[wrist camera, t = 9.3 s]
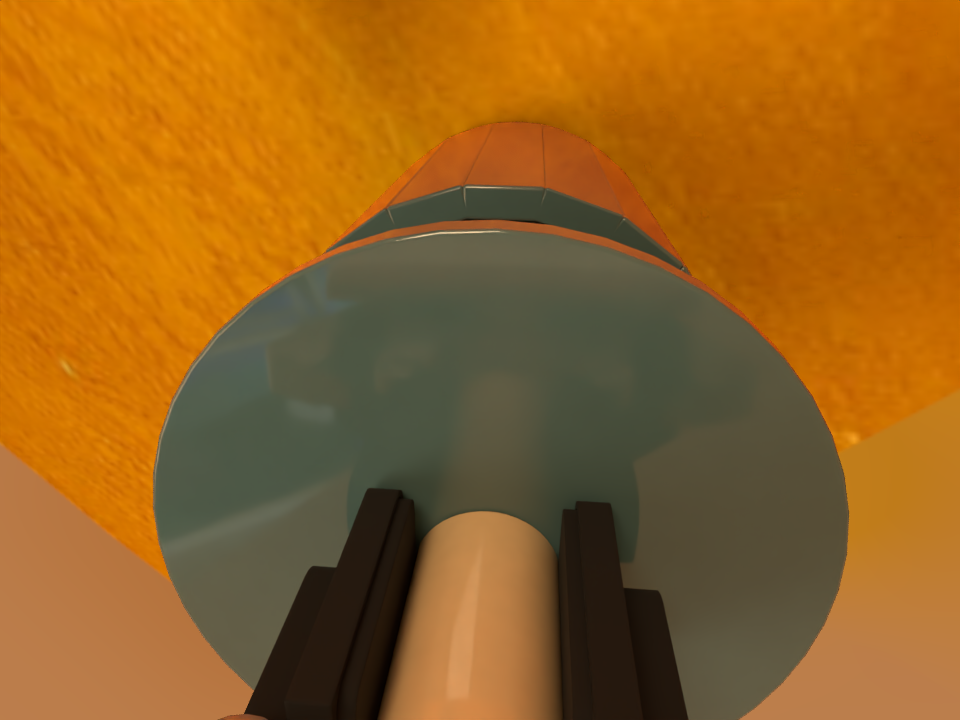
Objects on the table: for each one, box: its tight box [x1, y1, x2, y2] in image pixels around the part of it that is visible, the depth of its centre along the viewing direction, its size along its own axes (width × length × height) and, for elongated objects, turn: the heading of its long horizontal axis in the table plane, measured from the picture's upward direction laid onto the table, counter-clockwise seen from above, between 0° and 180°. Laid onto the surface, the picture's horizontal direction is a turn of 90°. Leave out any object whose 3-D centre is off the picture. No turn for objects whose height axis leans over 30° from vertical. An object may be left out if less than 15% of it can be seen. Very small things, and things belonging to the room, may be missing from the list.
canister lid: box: [153, 220, 849, 720], centre depth 9 cm, size 11×11×6 cm
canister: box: [322, 122, 692, 276], centre depth 21 cm, size 10×10×12 cm
